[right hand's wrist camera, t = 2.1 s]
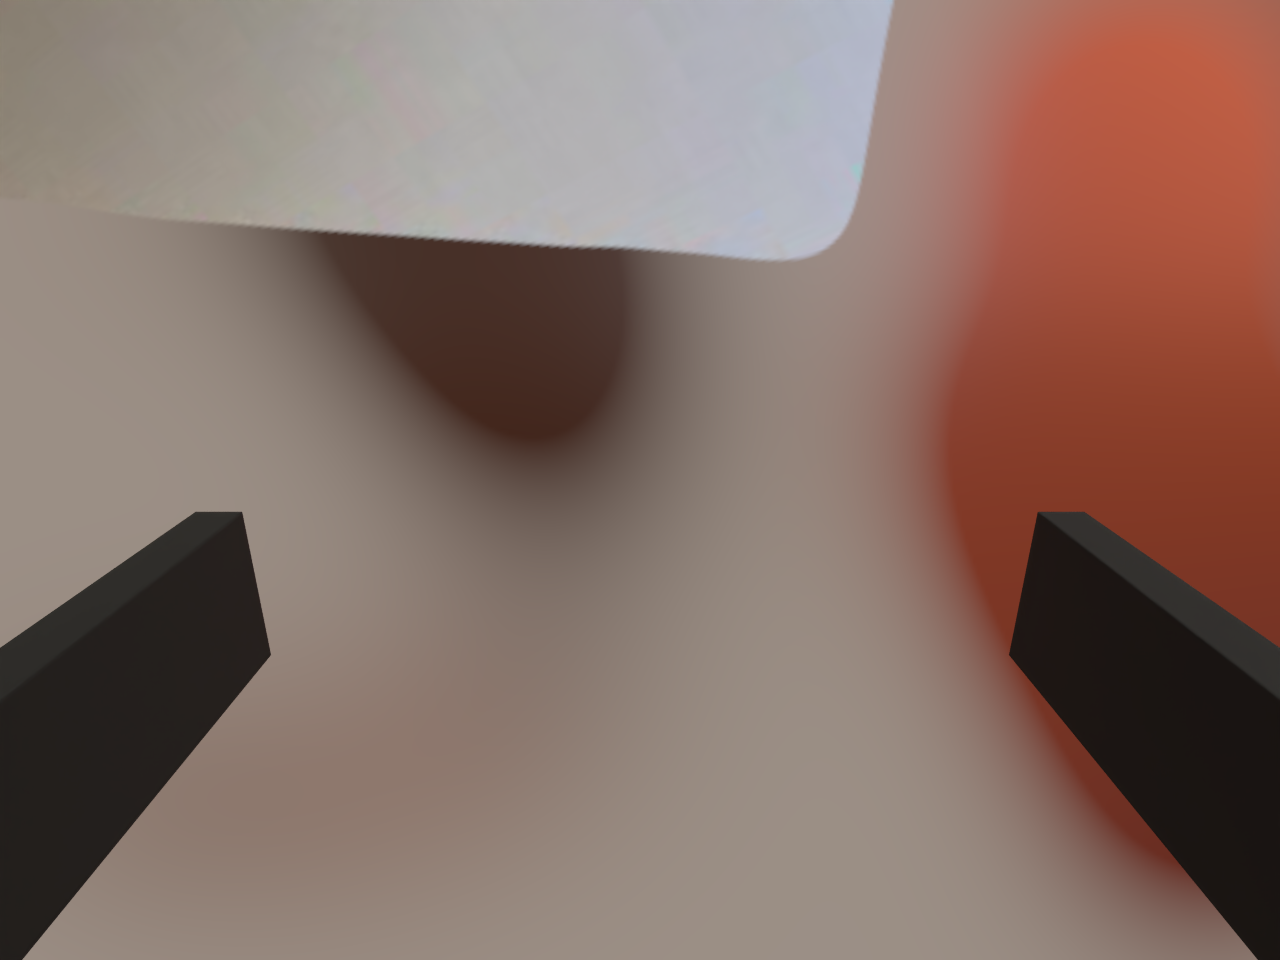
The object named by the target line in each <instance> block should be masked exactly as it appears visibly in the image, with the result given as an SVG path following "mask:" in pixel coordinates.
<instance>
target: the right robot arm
mask: <svg viewBox="0 0 1280 960" xmlns="http://www.w3.org/2000/svg"><path fill="white" fill-rule="evenodd" d="M270 655H271V653H270V648H269V643H268V638H267V633H266V628H265V623H264V618H263V613H262V608H261V603H260V598H259V593H258V588H257V583H256V578H255V573H254V568H253V564H252V559H251V554H250V549H249V544H248V539H247V534H246V529H245V524H244V519H243V514H242V512H195V513H193V514H192V515H191V516H189V517H188V518H186V519H185V520H183V521H182V522H180V523H179V524H178V525H176V526H175V527H173V528H172V529H170V530H169V531H168V532H166V533H165V534H163V535H162V536H160V537H159V538H157V539H156V540H155V541H153V542H152V543H150V544H149V545H147V546H146V547H145V548H143V549H142V550H140V551H139V552H137V553H136V554H134V555H133V556H132V557H130V558H129V559H127V560H126V561H124V562H123V563H122V564H120V565H119V566H117V567H116V568H114V569H113V570H111V571H110V572H109V573H107V574H106V575H104V576H103V577H101V578H100V579H99V580H97V581H96V582H94V583H93V584H91V585H90V586H88V587H87V588H86V589H84V590H83V591H81V592H80V593H78V594H77V595H76V596H74V597H73V598H71V599H70V600H68V601H67V602H65V603H64V604H63V605H61V606H60V607H58V608H57V609H55V610H54V611H53V612H51V613H50V614H48V615H47V616H45V617H44V618H43V619H41V620H40V621H38V622H37V623H35V624H34V625H32V626H31V627H30V628H28V629H27V630H25V631H24V632H22V633H21V634H20V635H18V636H17V637H15V638H14V639H12V640H11V641H9V642H8V643H7V644H5V645H4V646H2V647H1V648H0V960H22V959H23V958H24V957H25V956H26V954H27V953H28V952H29V951H30V949H31V948H32V947H33V946H34V945H35V943H36V942H37V941H38V940H39V938H40V937H41V936H42V935H43V933H44V932H45V931H46V930H47V929H48V927H49V926H50V925H51V924H52V922H53V921H54V920H55V919H56V918H57V916H58V915H59V914H60V913H61V911H62V910H63V909H64V908H65V907H66V905H67V904H68V903H69V902H70V900H71V899H72V898H73V897H74V896H75V894H76V893H77V892H78V891H79V889H80V888H81V887H82V886H83V885H84V883H85V882H86V881H87V880H88V878H89V877H90V876H91V875H92V874H93V872H94V871H95V870H96V869H97V867H98V866H99V865H100V864H101V862H102V861H103V860H104V859H105V858H106V856H107V855H108V854H109V853H110V851H111V850H112V849H113V848H114V847H115V845H116V844H117V843H118V842H119V840H120V839H121V838H122V837H123V836H124V834H125V833H126V832H127V831H128V829H129V828H130V827H131V826H132V825H133V823H134V822H135V821H136V819H137V818H138V817H139V816H140V815H141V813H142V812H143V811H144V810H145V808H146V807H147V806H148V805H149V804H150V802H151V801H152V800H153V799H154V798H155V796H156V795H157V794H158V793H159V791H160V790H161V789H162V788H163V787H164V785H165V784H166V783H167V782H168V780H169V779H170V778H171V777H172V775H173V774H174V773H175V772H176V770H177V769H178V768H179V767H180V766H181V764H182V763H183V762H184V761H185V760H186V758H187V757H188V756H189V755H190V753H191V752H192V751H193V750H194V749H195V747H196V746H197V745H198V744H199V742H200V741H201V740H202V739H203V738H204V736H205V735H206V734H207V733H208V731H209V730H210V729H211V728H212V727H213V725H214V724H215V723H216V722H217V720H218V719H219V718H220V717H221V715H222V714H223V713H224V712H225V711H226V709H227V708H228V707H229V706H230V704H231V703H232V702H233V701H234V700H235V698H236V697H237V696H238V695H239V693H240V692H241V691H242V690H243V689H244V687H245V686H246V685H247V684H248V682H249V681H250V680H251V679H252V677H253V676H254V675H255V674H256V673H257V671H258V670H259V669H260V668H261V666H262V665H263V664H264V663H265V662H266V660H267V659H268V658H269V657H270ZM1009 655H1010V657H1011V658H1012V659H1013V660H1014V662H1015V663H1016V664H1017V665H1018V666H1019V668H1020V669H1021V670H1022V671H1023V673H1024V674H1025V675H1026V676H1027V678H1028V679H1029V680H1030V681H1031V682H1032V684H1033V685H1034V686H1035V687H1036V689H1037V690H1038V691H1039V692H1040V693H1041V695H1042V696H1043V697H1044V698H1045V700H1046V701H1047V702H1048V703H1049V704H1050V706H1051V707H1052V708H1053V709H1054V710H1055V712H1056V713H1057V714H1058V715H1059V717H1060V718H1061V719H1062V720H1063V722H1064V723H1065V724H1066V725H1067V726H1068V728H1069V729H1070V730H1071V731H1072V733H1073V734H1074V735H1075V736H1076V738H1077V739H1078V740H1079V741H1080V742H1081V744H1082V745H1083V746H1084V747H1085V749H1086V750H1087V751H1088V752H1089V753H1090V755H1091V756H1092V757H1093V758H1094V760H1095V761H1096V762H1097V763H1098V764H1099V766H1100V767H1101V768H1102V769H1103V771H1104V772H1105V773H1106V774H1107V776H1108V777H1109V778H1110V779H1111V780H1112V782H1113V783H1114V784H1115V785H1116V787H1117V788H1118V789H1119V790H1120V791H1121V793H1122V794H1123V795H1124V796H1125V798H1126V799H1127V800H1128V801H1129V802H1130V804H1131V805H1132V806H1133V807H1134V809H1135V810H1136V811H1137V812H1138V813H1139V815H1140V816H1141V817H1142V818H1143V820H1144V821H1145V822H1146V823H1147V825H1148V826H1149V827H1150V828H1151V829H1152V831H1153V832H1154V833H1155V834H1156V836H1157V837H1158V838H1159V839H1160V840H1161V842H1162V843H1163V844H1164V845H1165V847H1166V848H1167V849H1168V850H1169V851H1170V853H1171V854H1172V855H1173V856H1174V858H1175V859H1176V860H1177V861H1178V862H1179V864H1180V865H1181V866H1182V867H1183V869H1184V870H1185V871H1186V872H1187V874H1188V875H1189V876H1190V877H1191V878H1192V880H1193V881H1194V882H1195V883H1196V885H1197V886H1198V887H1199V888H1200V889H1201V891H1202V892H1203V893H1204V894H1205V896H1206V897H1207V898H1208V899H1209V900H1210V902H1211V903H1212V904H1213V905H1214V907H1215V908H1216V909H1217V910H1218V911H1219V913H1220V914H1221V915H1222V916H1223V918H1224V919H1225V920H1226V921H1227V923H1228V924H1229V925H1230V926H1231V927H1232V929H1233V930H1234V931H1235V932H1236V933H1237V935H1238V936H1239V937H1240V938H1241V940H1242V941H1243V942H1244V943H1245V945H1246V946H1247V947H1248V948H1249V949H1250V951H1251V952H1252V953H1253V954H1254V956H1255V957H1256V958H1257V959H1258V960H1280V648H1279V647H1278V646H1276V645H1275V644H1273V643H1272V642H1271V641H1269V640H1268V639H1266V638H1265V637H1263V636H1262V635H1261V634H1259V633H1258V632H1256V631H1255V630H1253V629H1252V628H1250V627H1249V626H1248V625H1246V624H1245V623H1243V622H1242V621H1240V620H1239V619H1238V618H1236V617H1235V616H1233V615H1232V614H1230V613H1229V612H1227V611H1226V610H1224V609H1223V608H1222V607H1220V606H1219V605H1217V604H1216V603H1215V602H1213V601H1212V600H1210V599H1209V598H1207V597H1206V596H1204V595H1203V594H1202V593H1200V592H1199V591H1197V590H1196V589H1194V588H1193V587H1191V586H1190V585H1189V584H1187V583H1186V582H1184V581H1183V580H1181V579H1180V578H1179V577H1177V576H1176V575H1174V574H1173V573H1171V572H1170V571H1169V570H1167V569H1166V568H1164V567H1163V566H1161V565H1160V564H1158V563H1157V562H1156V561H1154V560H1153V559H1151V558H1150V557H1148V556H1147V555H1146V554H1144V553H1143V552H1141V551H1140V550H1138V549H1137V548H1135V547H1134V546H1133V545H1131V544H1130V543H1128V542H1127V541H1125V540H1124V539H1123V538H1121V537H1120V536H1118V535H1117V534H1115V533H1114V532H1112V531H1111V530H1110V529H1108V528H1107V527H1105V526H1104V525H1102V524H1101V523H1100V522H1098V521H1097V520H1095V519H1094V518H1092V517H1091V516H1089V515H1088V514H1087V513H1085V512H1038V514H1037V519H1036V524H1035V529H1034V534H1033V539H1032V544H1031V549H1030V554H1029V559H1028V563H1027V568H1026V574H1025V578H1024V583H1023V588H1022V593H1021V598H1020V603H1019V608H1018V613H1017V618H1016V623H1015V628H1014V633H1013V638H1012V643H1011V648H1010V653H1009Z"/></svg>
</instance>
